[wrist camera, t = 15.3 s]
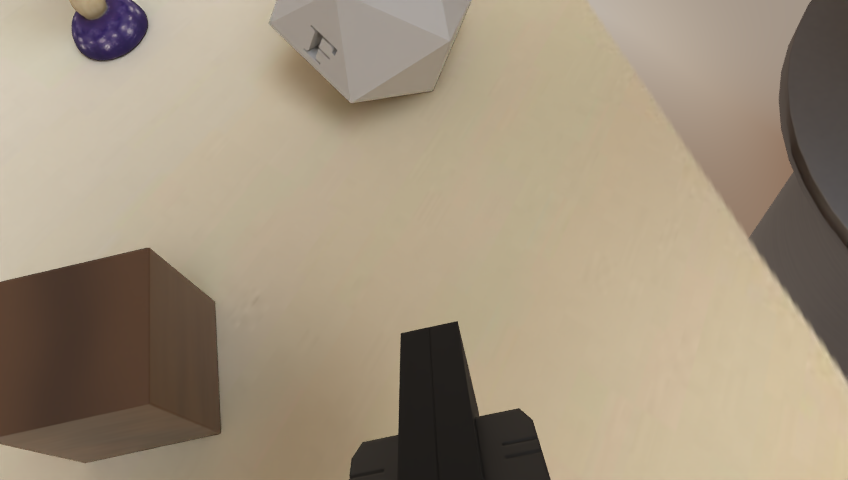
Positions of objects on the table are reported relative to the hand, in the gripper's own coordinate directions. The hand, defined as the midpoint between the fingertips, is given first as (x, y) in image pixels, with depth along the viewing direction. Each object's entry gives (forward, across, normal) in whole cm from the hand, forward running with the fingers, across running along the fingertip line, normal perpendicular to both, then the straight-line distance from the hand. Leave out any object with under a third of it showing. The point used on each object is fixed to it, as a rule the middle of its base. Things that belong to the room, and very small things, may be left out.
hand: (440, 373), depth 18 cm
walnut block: (+11, +13, +4) cm, 17 cm away
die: (+21, 0, -6) cm, 22 cm away
